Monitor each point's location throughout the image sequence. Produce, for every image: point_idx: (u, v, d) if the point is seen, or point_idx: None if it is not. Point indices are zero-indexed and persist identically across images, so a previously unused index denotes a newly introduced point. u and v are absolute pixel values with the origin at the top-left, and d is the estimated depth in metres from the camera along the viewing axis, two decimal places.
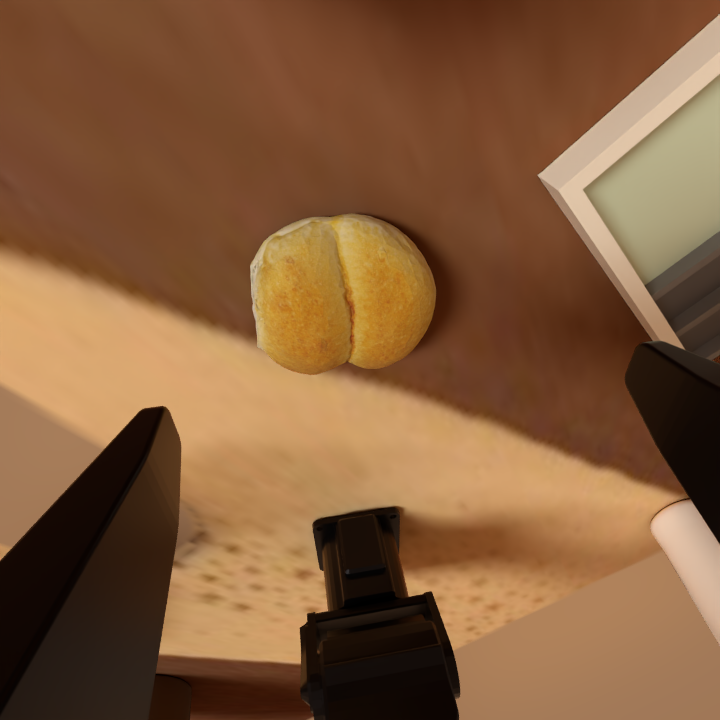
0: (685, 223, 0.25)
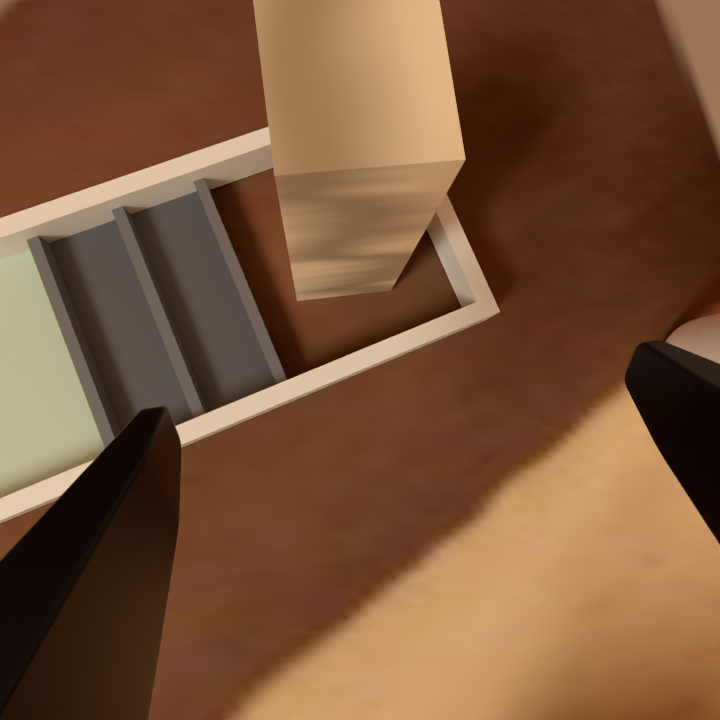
0: (44, 397, 0.21)
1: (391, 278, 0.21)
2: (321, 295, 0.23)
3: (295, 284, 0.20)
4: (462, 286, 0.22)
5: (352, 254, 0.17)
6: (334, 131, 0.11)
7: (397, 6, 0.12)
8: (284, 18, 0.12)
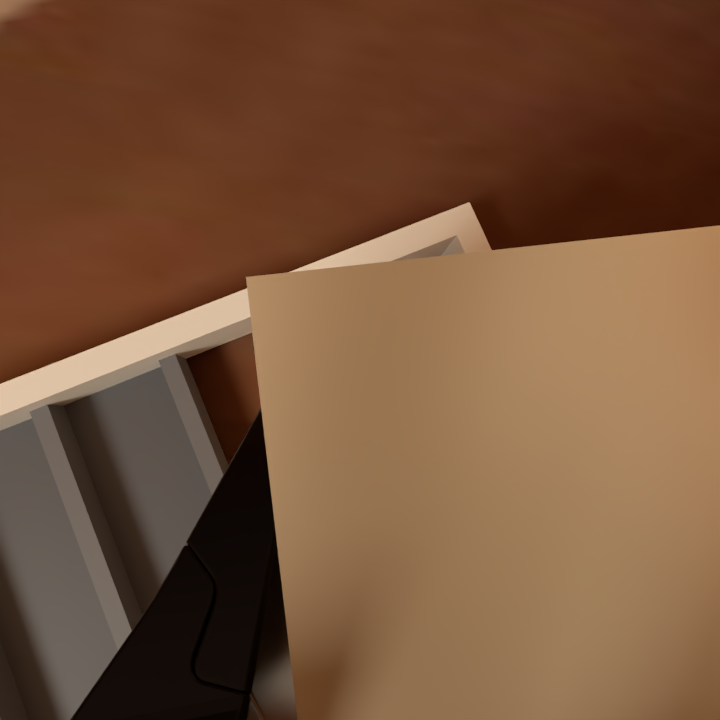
0: None
1: None
2: None
3: None
4: None
5: None
6: None
7: (666, 282, 0.04)
8: (343, 344, 0.04)
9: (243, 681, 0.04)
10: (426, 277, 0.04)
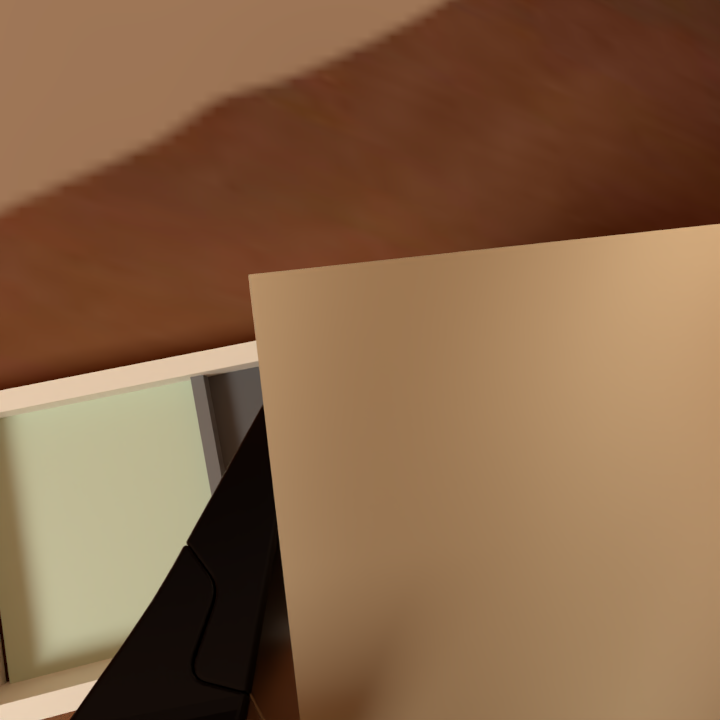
0: (175, 547, 0.20)
1: None
2: None
3: None
4: None
5: None
6: None
7: (668, 280, 0.04)
8: (346, 342, 0.04)
9: (243, 681, 0.04)
10: (427, 276, 0.04)
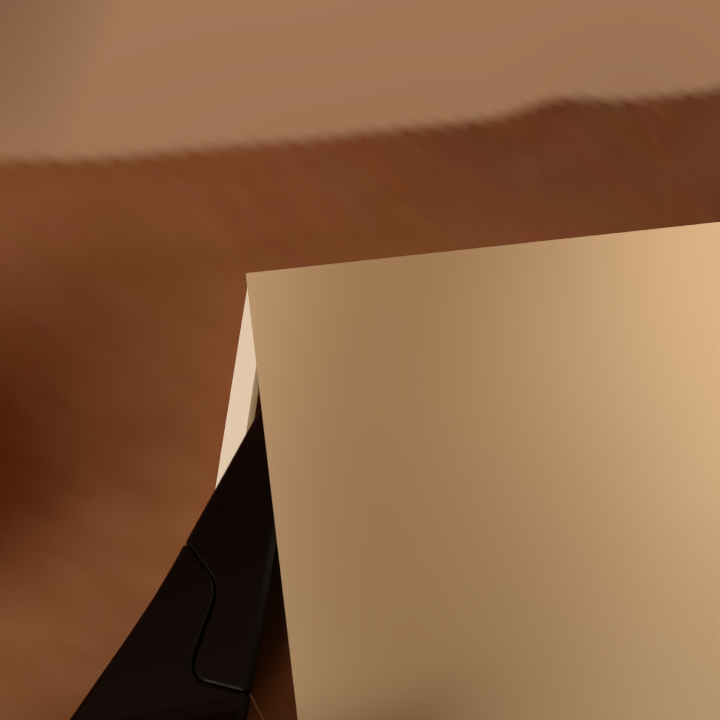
0: None
1: None
2: None
3: None
4: None
5: None
6: (508, 719, 0.04)
7: (665, 278, 0.04)
8: (343, 340, 0.04)
9: (243, 681, 0.04)
10: (425, 274, 0.04)
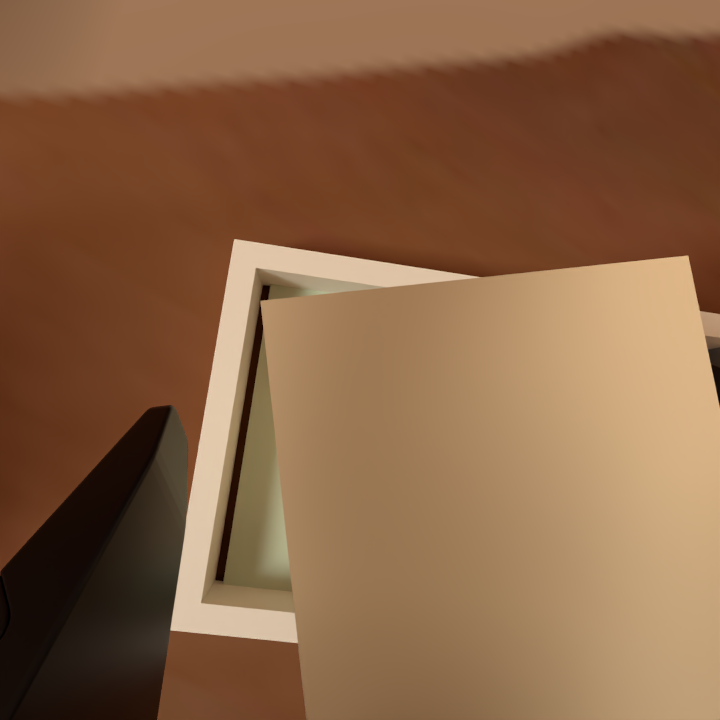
0: None
1: None
2: None
3: None
4: None
5: None
6: (464, 656, 0.04)
7: (600, 306, 0.05)
8: (338, 355, 0.05)
9: None
10: (405, 301, 0.05)
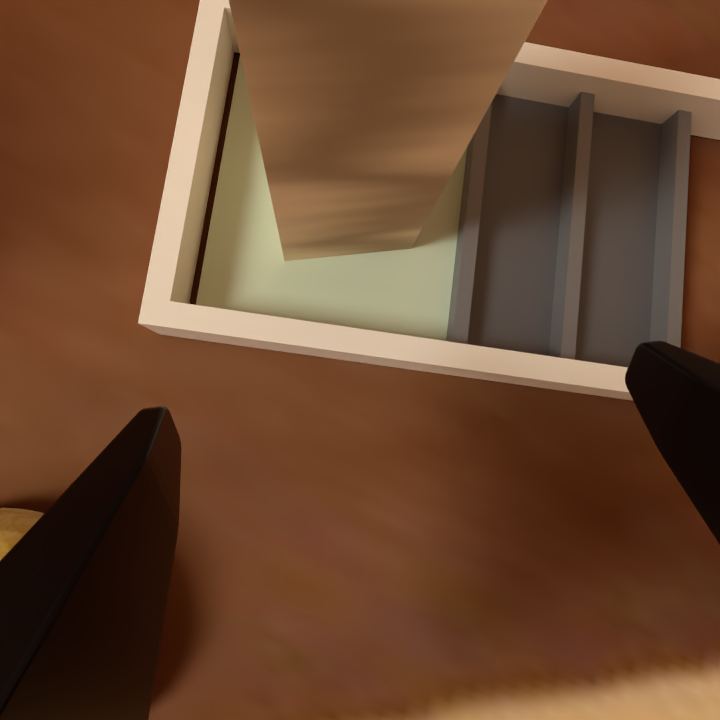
0: None
1: (414, 226, 0.15)
2: (317, 252, 0.17)
3: (278, 230, 0.14)
4: None
5: (362, 170, 0.11)
6: None
7: None
8: None
9: None
10: None
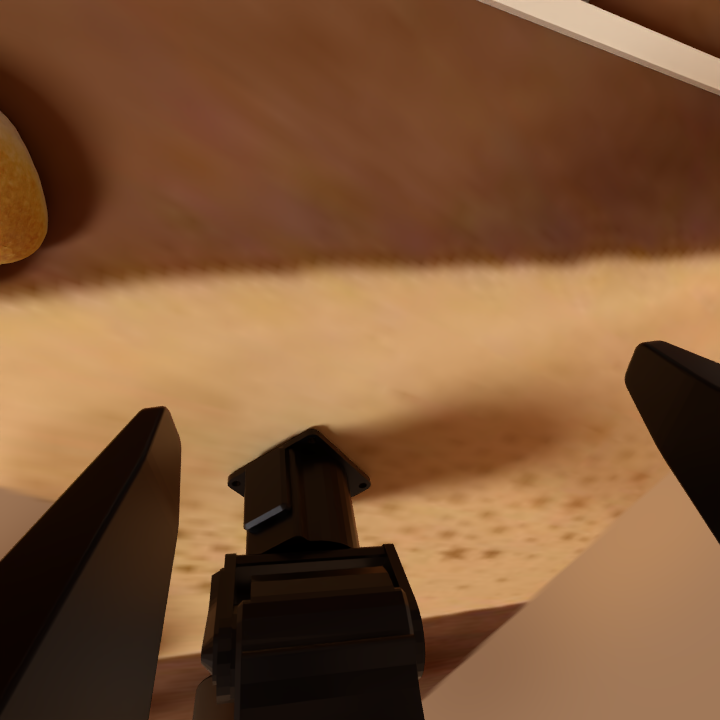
0: None
1: None
2: None
3: None
4: None
5: None
6: None
7: None
8: None
9: None
10: None
